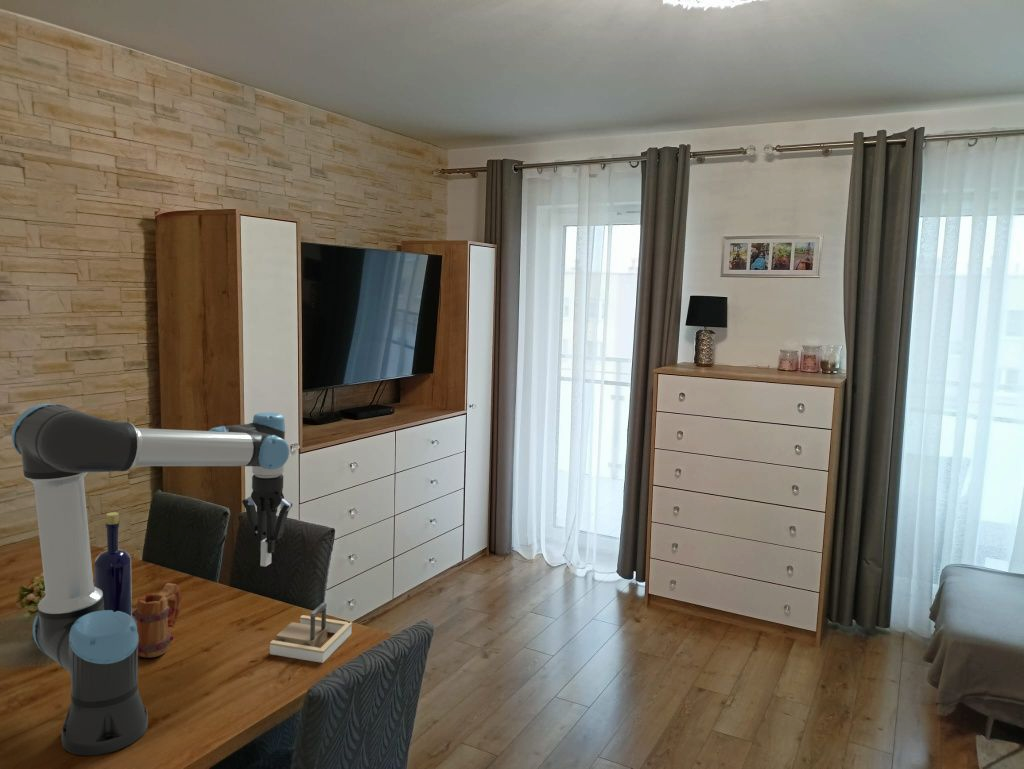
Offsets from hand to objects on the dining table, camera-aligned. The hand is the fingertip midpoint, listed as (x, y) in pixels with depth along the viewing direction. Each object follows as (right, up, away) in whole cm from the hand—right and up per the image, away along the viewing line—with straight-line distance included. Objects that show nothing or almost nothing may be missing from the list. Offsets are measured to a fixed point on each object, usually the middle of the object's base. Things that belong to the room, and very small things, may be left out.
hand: (265, 564), depth 191 cm
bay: (+11, -20, 0) cm, 23 cm away
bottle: (-41, -17, +4) cm, 45 cm away
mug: (-24, -19, -7) cm, 32 cm away
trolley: (+9, -20, 0) cm, 22 cm away
